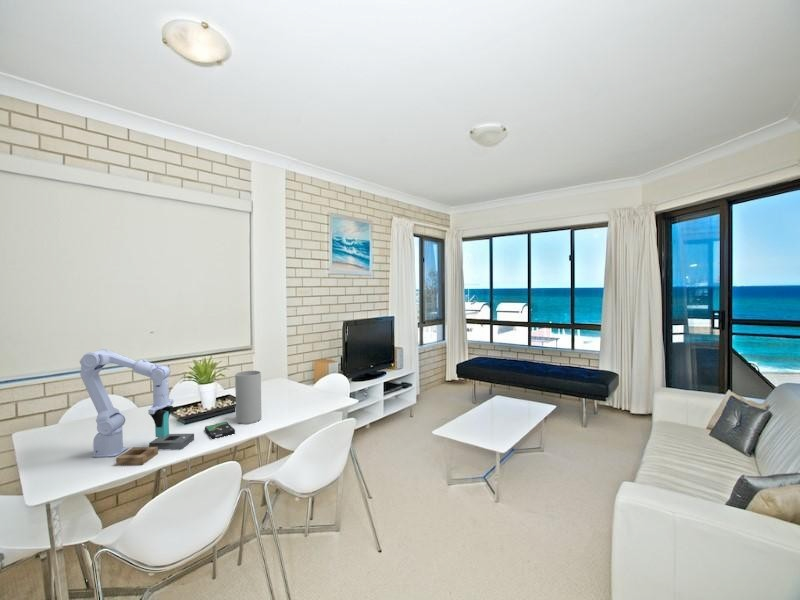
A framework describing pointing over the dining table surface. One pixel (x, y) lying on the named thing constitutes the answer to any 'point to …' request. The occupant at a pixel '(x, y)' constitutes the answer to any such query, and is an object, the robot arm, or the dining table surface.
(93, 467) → the dining table surface
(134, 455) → the tan square ring
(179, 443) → the port block
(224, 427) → the disk drive
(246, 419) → the cylinder vase
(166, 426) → the plug
